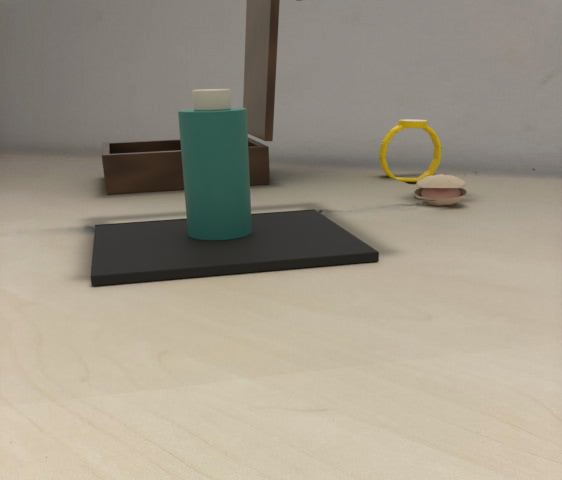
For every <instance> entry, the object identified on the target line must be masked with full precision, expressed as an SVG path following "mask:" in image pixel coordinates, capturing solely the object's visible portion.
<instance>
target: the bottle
mask: <svg viewBox="0 0 562 480" xmlns="http://www.w3.org/2000/svg"><path fill="white" fill-rule="evenodd" d="M191 92H192V108H187V109H180V110H178V111H177V117H178V127H179V128H178V129H179V139H180V142H181V154H182V167H183V179H184V190H183V191H184V202H185V203H184V205H185V215H186V218H187V228H188V236H189V237H191V238H194V239H198V240H210V241H217V240H231V239H237V238H242V237H245V236H248V235H250V234H251V233H252V221H251V214H252V203H251V202H252V201H251V186H250V176H249V154H248V137H249V134H248V131H247V109H246V108H243V107H232V103H231V102H232V101H231V89H230V88H206V89H205V88H203V89H193V90H192V91H191Z"/></svg>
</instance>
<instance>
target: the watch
mask: <svg viewBox="0 0 562 480" xmlns="http://www.w3.org/2000/svg"><path fill="white" fill-rule="evenodd" d="M428 124H429V123H428V120H427V119H416V118H415V119H414V118H413V119H412V118H404V119H399V120H398V124H397V125H395V126H393V127H392V128H390V130H388V132H387V133H386V134H385V136H384V138H383V139H382V140H381V143H380V147H379V152H378V160H379V164H380V167H381V170H382V172H383V173H384V174H385V176H387V177H389V178H391V179H394V180H396V181H400V182H402V183H417V181H419V180H422V179H423V178H425V177H427V176H433V175H435V173H436V171H437V169H438V167H439V165H440V163H441V160H442V143H441V141H440V138H439V136H438V134H437V132H436V131H435V130H434V129H433V128H431V127H430V126H429V125H428ZM404 129H422V131H424V132H425V133H426V134H428V135H429V137H430V139H431V142H432V145H433V158H432V160H431V162H430V164H429V166H428V168H427V170H425V172H423V173H422V174H421V175H419V176H418V177H403V176H401V177H400V176H395V175H394V174H393V172H392V171H390V168H389V165H388V162H387V159H386V158H387V152H388V148H389V147H388V145H389V144H390V142H391V141H392V139H393V138H394V136H395V135H396V134H397V133H399V132H401V131H403V130H404Z"/></svg>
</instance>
